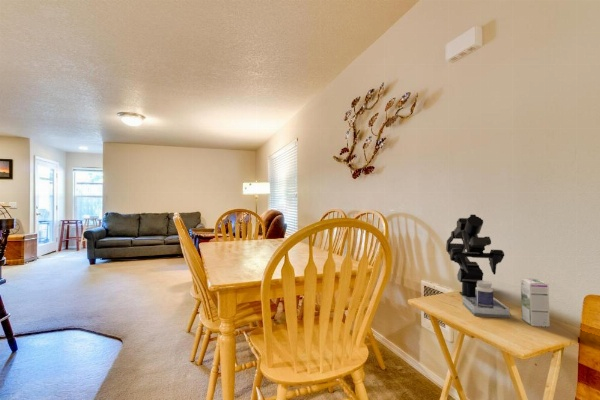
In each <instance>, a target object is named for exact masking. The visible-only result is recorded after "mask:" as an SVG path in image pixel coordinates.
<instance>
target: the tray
mask: <svg viewBox="0 0 600 400" xmlns="http://www.w3.org/2000/svg"><path fill="white" fill-rule="evenodd" d="M462 305H463V306H464V307H465V308H466V309H467V310H468V311H469V312H470V313H471V314H472V315H473V316H475V317H486V318H487V317H488V318H499V319H500V318H504V319H510V318H511V315H510V313H511V312H510V311H511V310H510V309H511V308H510V307H508V306H507V305H506V304H504V303H503V302H501V301H500V300H498V299H497V298H495V297H494V296H493V308H492V307H478V306H477V305H476V298H475V297H467V296H462Z"/></svg>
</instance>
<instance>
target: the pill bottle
mask: <svg viewBox="0 0 600 400" xmlns="http://www.w3.org/2000/svg"><path fill="white" fill-rule="evenodd" d="M492 285H493V284H492V282H490V281H487V280H482V281H477V287H476V305H477V306H478V307H492V308H493V297H494V289H493V288H492Z"/></svg>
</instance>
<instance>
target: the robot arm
mask: <svg viewBox="0 0 600 400" xmlns="http://www.w3.org/2000/svg"><path fill="white" fill-rule="evenodd" d="M483 224H484V219H482V218H481V217H479V216H477V215H476V214H470V215H469V216H468V217H467V218H466V217H459V218H458V219H457V220H456V227H455V229H454V230H452V231H451V232H450V236H449V237H448V238H447V240H446V244H445V245H446V246H445V250H446V252H447V254H448V256H449V258H450V261H451V262H454V263H456V264H458V265H459V269H458V271H457V274H456V276H457V277H456V278H457V281H458V282H459V283H461V291H459V292H458V293H459V294H460V295H461V296H462V297H463V296H467V297H475V298H476V287H477V286H478V285H477V281H483V278H484V272H483V270H482V269H481V268H480V265H479V264H478V262H477V261H471V260H470V259H469V258H474V259H475V258H476V259H488V262H489V263H488V264H489V266H490V269H491V272H492V273H493V275H496V273H497V272H496V271H497V265H498V264H500V263H501V262H502V261H503V259H504V257H505V252H504V251H503V250H502V249H490V252H485V250H486V247H487V246H490V245H491V244H492V239H491V237H490V236H484V237H482V236H480V237H479V234H480V233H481V230H482V228H483ZM456 239H457V240H459V239H460V240H461V241H462V243H454V242H453V240H456ZM452 242H453V243H452Z"/></svg>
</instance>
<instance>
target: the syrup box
mask: <svg viewBox="0 0 600 400" xmlns="http://www.w3.org/2000/svg"><path fill="white" fill-rule="evenodd" d="M549 288H550V287H549V283H547V282H545V281H542V280H540V279H536V278H521V279H520V296H521V297H520V298H521V301H520V302H521V304H520V305H521V320H523V321H524V322H525V323H527V324H528V325H530V326H532V327H541V326H542V328H550V327H551V325H550V324H551V323H550V295H549V294H550V293H549ZM545 326H546V327H545Z"/></svg>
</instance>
